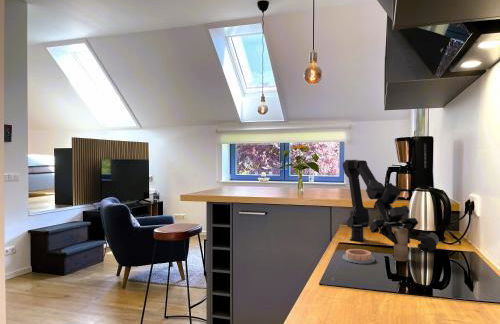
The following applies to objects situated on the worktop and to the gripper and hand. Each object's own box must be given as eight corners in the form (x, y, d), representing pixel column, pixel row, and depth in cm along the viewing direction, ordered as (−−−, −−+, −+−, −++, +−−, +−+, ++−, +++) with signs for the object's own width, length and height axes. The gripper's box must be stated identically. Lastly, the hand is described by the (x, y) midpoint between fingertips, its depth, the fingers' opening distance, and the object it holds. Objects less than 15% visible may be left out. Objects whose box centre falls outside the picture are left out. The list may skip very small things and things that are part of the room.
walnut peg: (393, 257, 140) (393, 227, 140) (407, 258, 138) (407, 228, 138) (393, 260, 135) (393, 229, 135) (408, 261, 134) (407, 230, 133)
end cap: (436, 253, 145) (436, 237, 145) (417, 251, 149) (417, 235, 149) (438, 248, 153) (438, 232, 153) (421, 246, 157) (420, 231, 157)
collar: (344, 253, 145) (344, 247, 145) (375, 256, 141) (375, 249, 141) (340, 261, 134) (340, 254, 134) (373, 265, 130) (373, 257, 130)
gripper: (373, 199, 138) (390, 233, 128) (415, 198, 142) (434, 230, 132) (363, 216, 146) (378, 249, 136) (402, 214, 150) (420, 246, 139)
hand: (403, 243), depth 135 cm, fingers closed on walnut peg, 5 cm apart
